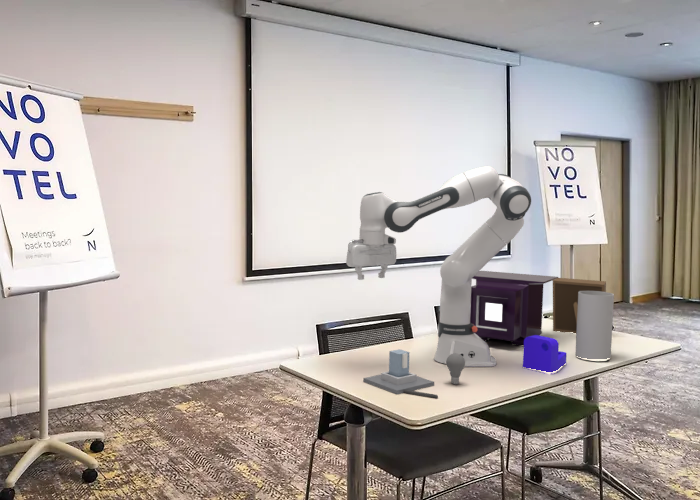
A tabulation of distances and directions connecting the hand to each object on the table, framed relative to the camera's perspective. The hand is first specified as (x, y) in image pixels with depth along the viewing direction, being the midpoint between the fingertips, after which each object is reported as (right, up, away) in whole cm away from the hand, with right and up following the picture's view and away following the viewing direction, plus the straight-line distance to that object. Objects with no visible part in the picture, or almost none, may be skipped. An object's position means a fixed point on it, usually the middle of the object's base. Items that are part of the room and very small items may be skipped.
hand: (371, 278), depth 216 cm
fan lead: (+14, -34, -29) cm, 47 cm away
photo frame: (+94, -28, +61) cm, 115 cm away
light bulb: (+26, -33, -17) cm, 46 cm away
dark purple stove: (+58, -29, +48) cm, 81 cm away
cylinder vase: (+85, -31, +20) cm, 93 cm away
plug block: (+8, -31, -18) cm, 37 cm away
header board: (+8, -33, -18) cm, 38 cm away
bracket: (+64, -32, +6) cm, 72 cm away
